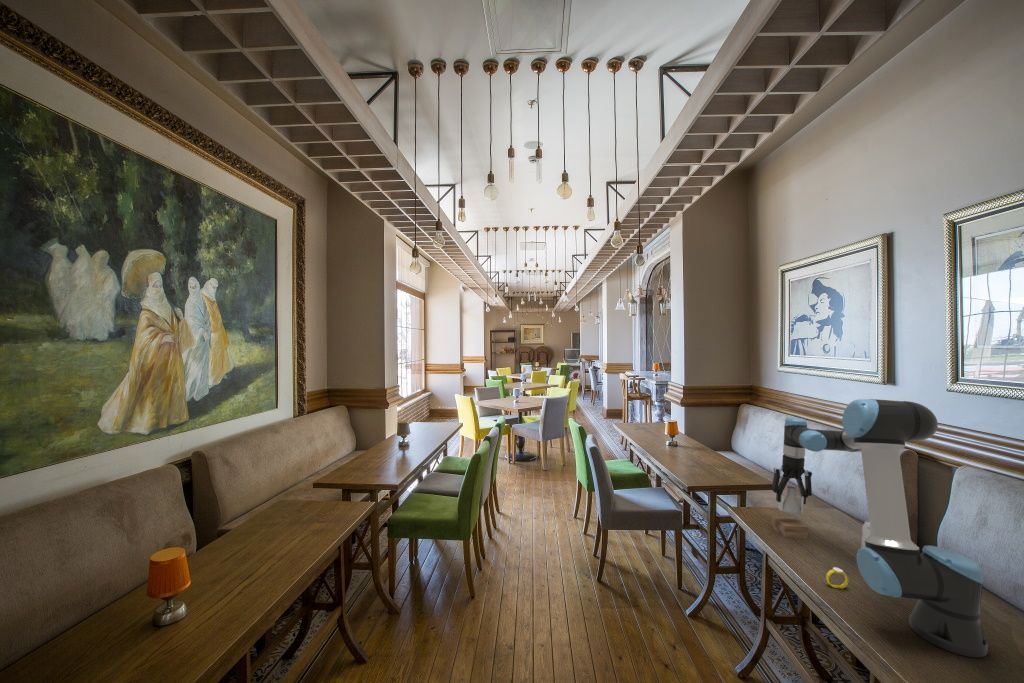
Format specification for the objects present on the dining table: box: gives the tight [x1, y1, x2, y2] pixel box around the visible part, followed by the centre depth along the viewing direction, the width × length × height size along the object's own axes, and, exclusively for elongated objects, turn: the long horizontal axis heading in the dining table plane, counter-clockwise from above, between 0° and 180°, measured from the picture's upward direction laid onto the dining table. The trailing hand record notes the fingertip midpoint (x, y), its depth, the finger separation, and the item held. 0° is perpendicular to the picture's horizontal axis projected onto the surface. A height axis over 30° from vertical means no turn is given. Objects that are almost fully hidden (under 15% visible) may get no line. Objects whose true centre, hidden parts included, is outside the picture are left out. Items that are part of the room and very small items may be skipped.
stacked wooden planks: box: [771, 515, 809, 540], centre depth 176 cm, size 9×9×5 cm
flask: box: [782, 485, 802, 515], centre depth 176 cm, size 7×7×10 cm
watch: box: [825, 566, 849, 590], centre depth 139 cm, size 6×3×6 cm, turn 80°
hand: (790, 510), depth 176 cm, fingers closed on flask, 7 cm apart
